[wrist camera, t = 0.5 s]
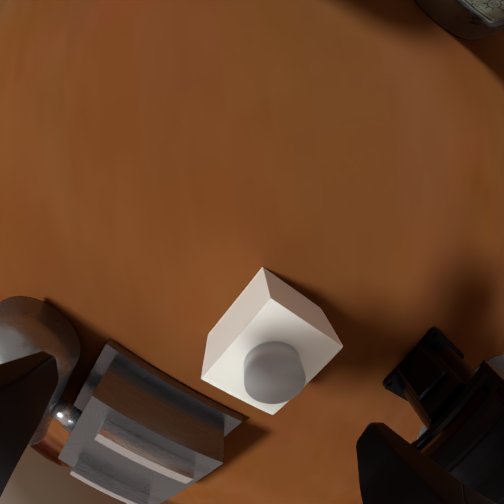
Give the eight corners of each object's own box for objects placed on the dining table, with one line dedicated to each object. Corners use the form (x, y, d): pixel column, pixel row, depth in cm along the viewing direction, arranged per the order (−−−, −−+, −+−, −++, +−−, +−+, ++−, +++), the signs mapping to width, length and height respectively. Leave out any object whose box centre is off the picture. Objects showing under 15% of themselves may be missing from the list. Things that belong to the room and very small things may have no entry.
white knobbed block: (320, 307, 20) (352, 361, 14) (266, 367, 21) (275, 432, 15) (262, 266, 19) (274, 311, 13) (208, 333, 20) (198, 396, 14)
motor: (242, 414, 22) (244, 483, 15) (165, 476, 24) (156, 527, 18) (30, 274, 18) (-27, 311, 11) (5, 375, 21) (-29, 414, 14)
